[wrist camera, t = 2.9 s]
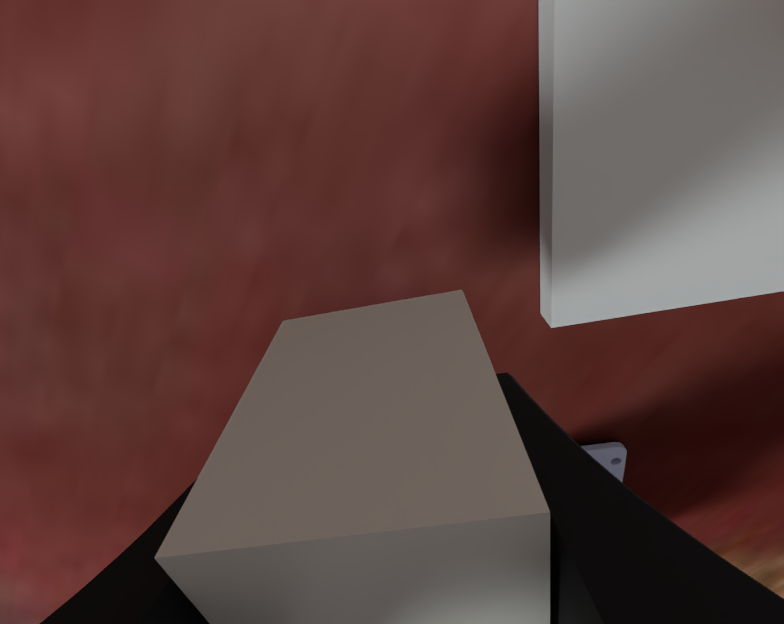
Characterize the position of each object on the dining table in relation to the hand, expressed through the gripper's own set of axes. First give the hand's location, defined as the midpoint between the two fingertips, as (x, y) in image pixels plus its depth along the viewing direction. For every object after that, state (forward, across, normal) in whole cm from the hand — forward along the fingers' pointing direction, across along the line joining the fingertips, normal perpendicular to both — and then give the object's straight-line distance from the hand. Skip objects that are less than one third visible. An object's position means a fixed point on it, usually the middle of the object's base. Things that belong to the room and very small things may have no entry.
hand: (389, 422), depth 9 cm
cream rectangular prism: (+2, 0, 0) cm, 2 cm away
